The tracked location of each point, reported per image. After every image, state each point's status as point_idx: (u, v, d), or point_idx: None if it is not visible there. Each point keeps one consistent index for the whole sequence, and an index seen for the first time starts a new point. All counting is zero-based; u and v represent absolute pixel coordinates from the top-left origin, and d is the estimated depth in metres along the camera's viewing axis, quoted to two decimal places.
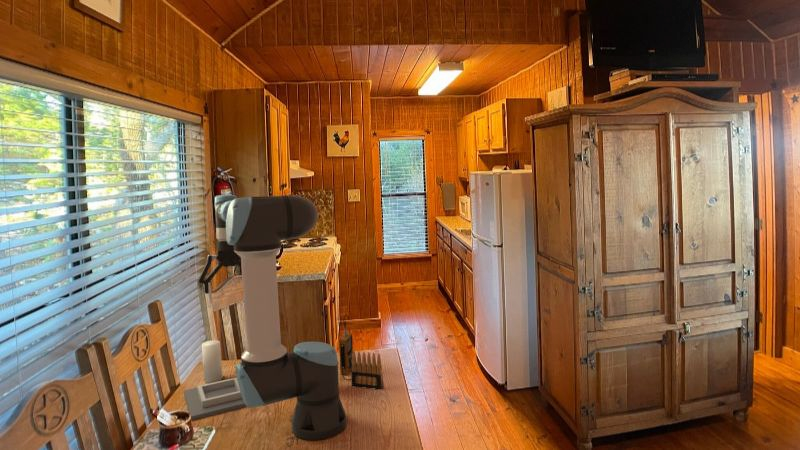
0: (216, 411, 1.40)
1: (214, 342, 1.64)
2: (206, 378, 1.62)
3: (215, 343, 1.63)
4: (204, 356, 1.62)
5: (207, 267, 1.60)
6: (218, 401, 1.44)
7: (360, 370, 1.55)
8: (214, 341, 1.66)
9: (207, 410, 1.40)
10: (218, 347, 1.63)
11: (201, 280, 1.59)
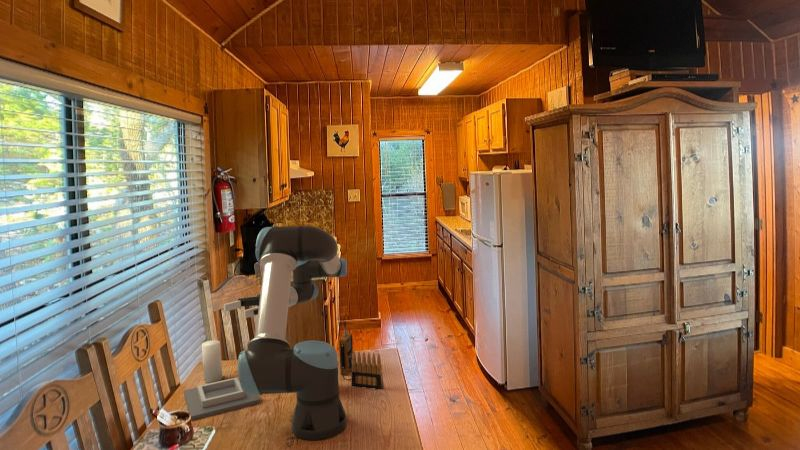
0: (216, 411, 1.40)
1: (214, 342, 1.64)
2: (206, 378, 1.62)
3: (215, 343, 1.63)
4: (204, 356, 1.62)
5: (252, 297, 1.84)
6: (218, 401, 1.44)
7: (360, 370, 1.55)
8: (214, 341, 1.66)
9: (207, 410, 1.40)
10: (218, 347, 1.63)
11: (240, 298, 1.82)
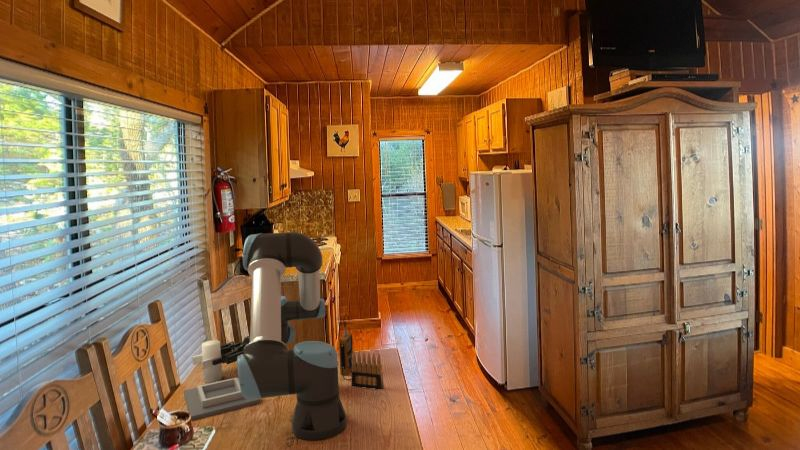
0: (216, 411, 1.40)
1: (214, 342, 1.64)
2: (206, 378, 1.62)
3: (215, 343, 1.63)
4: (204, 356, 1.62)
5: (223, 345, 1.74)
6: (218, 401, 1.44)
7: (360, 370, 1.55)
8: (214, 341, 1.66)
9: (207, 410, 1.40)
10: (218, 347, 1.63)
11: None
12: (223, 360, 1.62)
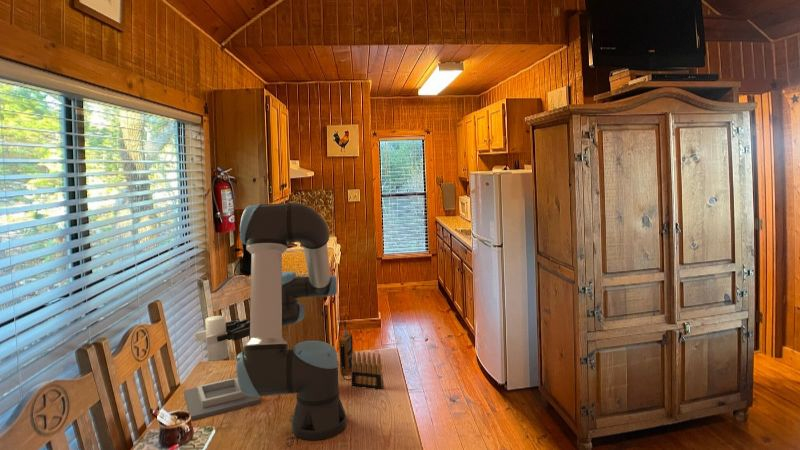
0: (216, 411, 1.40)
1: (218, 318, 1.51)
2: (210, 356, 1.49)
3: (220, 318, 1.51)
4: (208, 332, 1.49)
5: (228, 322, 1.61)
6: (218, 401, 1.44)
7: (360, 370, 1.55)
8: (218, 316, 1.53)
9: (207, 410, 1.40)
10: (223, 322, 1.50)
11: None
12: (229, 336, 1.49)
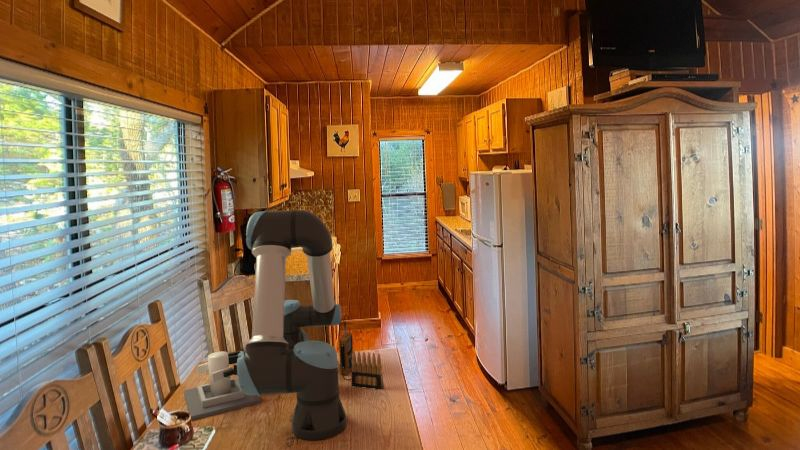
0: (216, 411, 1.40)
1: (221, 354, 1.49)
2: (213, 394, 1.48)
3: (222, 355, 1.49)
4: (211, 369, 1.47)
5: (232, 353, 1.59)
6: (218, 401, 1.44)
7: (360, 370, 1.55)
8: (221, 352, 1.51)
9: (207, 410, 1.40)
10: (226, 359, 1.49)
11: None
12: (235, 371, 1.47)
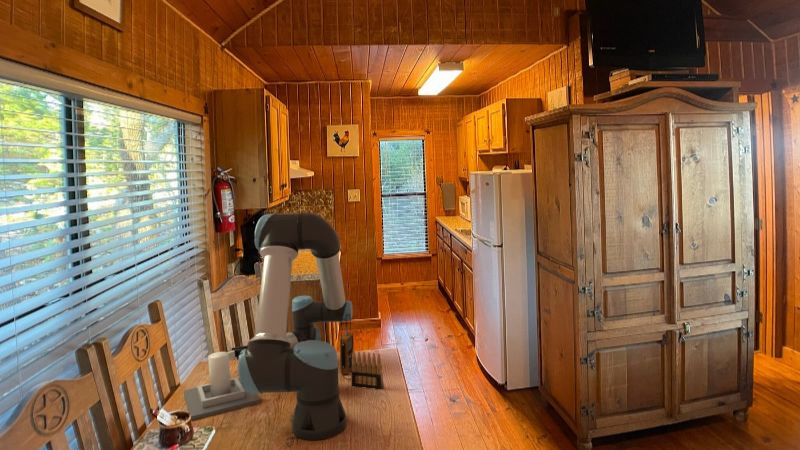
0: (216, 411, 1.40)
1: (222, 354, 1.49)
2: (213, 394, 1.48)
3: (223, 355, 1.49)
4: (211, 369, 1.47)
5: None
6: (218, 401, 1.44)
7: (360, 370, 1.55)
8: (222, 352, 1.51)
9: (207, 410, 1.40)
10: (226, 359, 1.48)
11: (234, 348, 1.64)
12: None
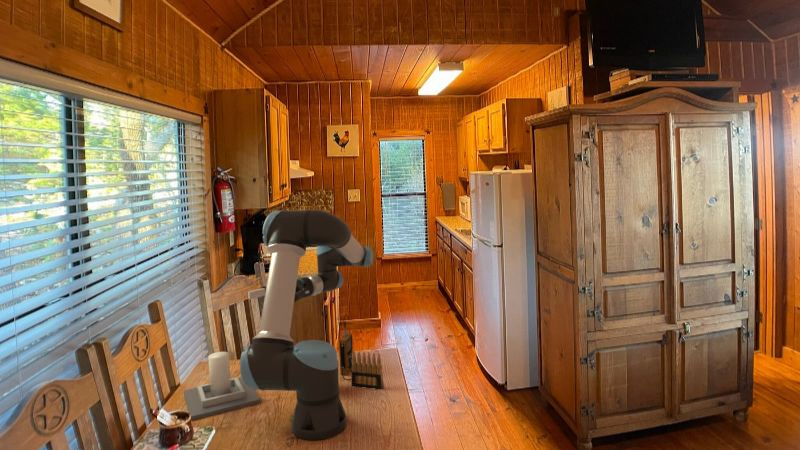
0: (216, 411, 1.40)
1: (222, 354, 1.49)
2: (213, 394, 1.48)
3: (223, 355, 1.49)
4: (211, 370, 1.47)
5: None
6: (218, 401, 1.44)
7: (360, 370, 1.55)
8: (222, 352, 1.51)
9: (207, 410, 1.40)
10: (226, 359, 1.48)
11: (264, 286, 1.76)
12: None
